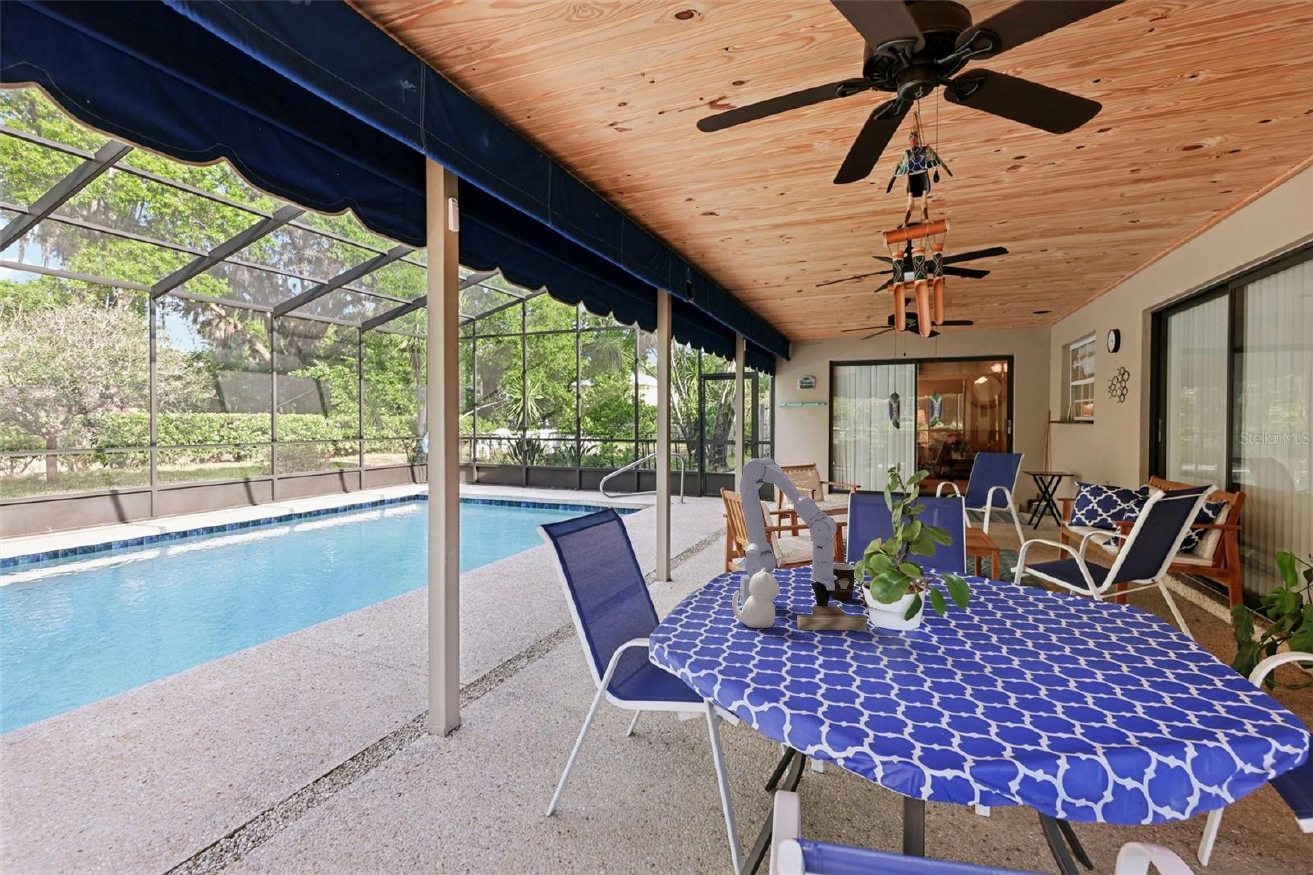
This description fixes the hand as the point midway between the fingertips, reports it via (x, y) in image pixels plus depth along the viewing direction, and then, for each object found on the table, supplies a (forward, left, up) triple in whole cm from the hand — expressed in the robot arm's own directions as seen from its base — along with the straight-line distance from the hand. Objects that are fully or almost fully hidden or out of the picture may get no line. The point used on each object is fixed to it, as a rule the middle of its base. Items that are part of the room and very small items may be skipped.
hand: (822, 609), depth 165 cm
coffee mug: (+11, +20, -3) cm, 23 cm away
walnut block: (+1, -4, -3) cm, 5 cm away
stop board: (0, -8, -2) cm, 9 cm away
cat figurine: (-20, -6, -3) cm, 21 cm away
